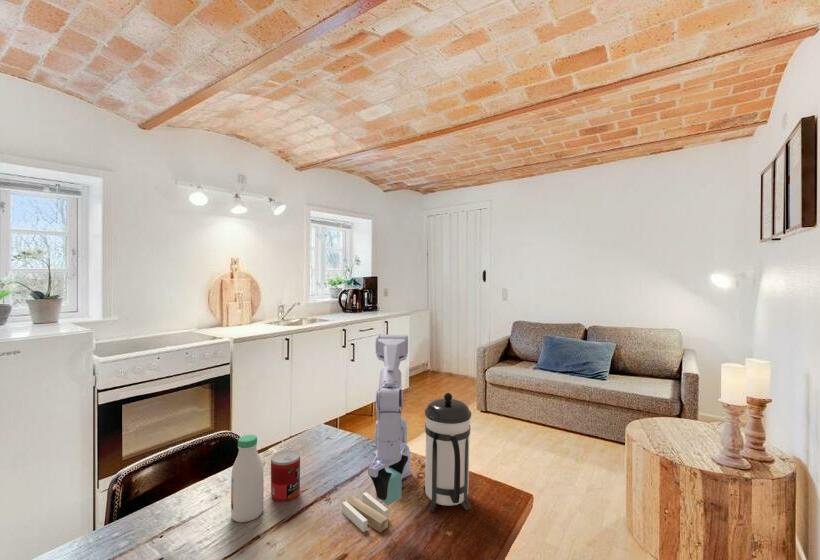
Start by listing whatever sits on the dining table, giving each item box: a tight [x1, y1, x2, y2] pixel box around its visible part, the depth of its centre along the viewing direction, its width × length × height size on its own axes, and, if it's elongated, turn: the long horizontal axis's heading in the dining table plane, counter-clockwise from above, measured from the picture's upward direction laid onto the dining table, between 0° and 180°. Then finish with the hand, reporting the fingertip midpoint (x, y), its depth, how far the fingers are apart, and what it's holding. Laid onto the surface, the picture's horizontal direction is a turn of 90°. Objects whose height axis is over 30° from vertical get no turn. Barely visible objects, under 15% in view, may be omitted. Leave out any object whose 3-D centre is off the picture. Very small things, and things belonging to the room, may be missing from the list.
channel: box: [341, 491, 389, 533], centre depth 99 cm, size 8×10×2 cm
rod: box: [343, 494, 389, 533], centre depth 99 cm, size 3×14×3 cm, turn 49°
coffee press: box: [423, 392, 472, 513], centre depth 105 cm, size 17×16×30 cm
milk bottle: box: [230, 434, 265, 523], centre depth 99 cm, size 8×8×20 cm
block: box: [375, 467, 403, 506], centre depth 94 cm, size 4×4×6 cm
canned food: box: [270, 449, 301, 503], centre depth 108 cm, size 8×8×11 cm
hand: (388, 491), depth 94 cm, fingers closed on block, 6 cm apart
